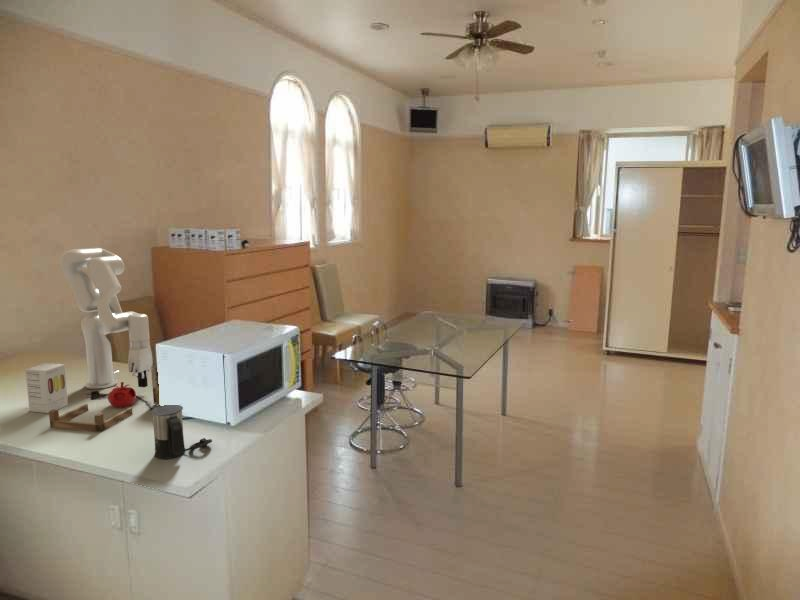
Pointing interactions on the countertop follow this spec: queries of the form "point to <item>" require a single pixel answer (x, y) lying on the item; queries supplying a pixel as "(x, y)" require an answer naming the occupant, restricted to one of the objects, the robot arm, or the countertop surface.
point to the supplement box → (46, 387)
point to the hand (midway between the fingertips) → (143, 386)
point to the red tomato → (122, 396)
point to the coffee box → (155, 384)
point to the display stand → (98, 426)
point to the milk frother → (170, 432)
